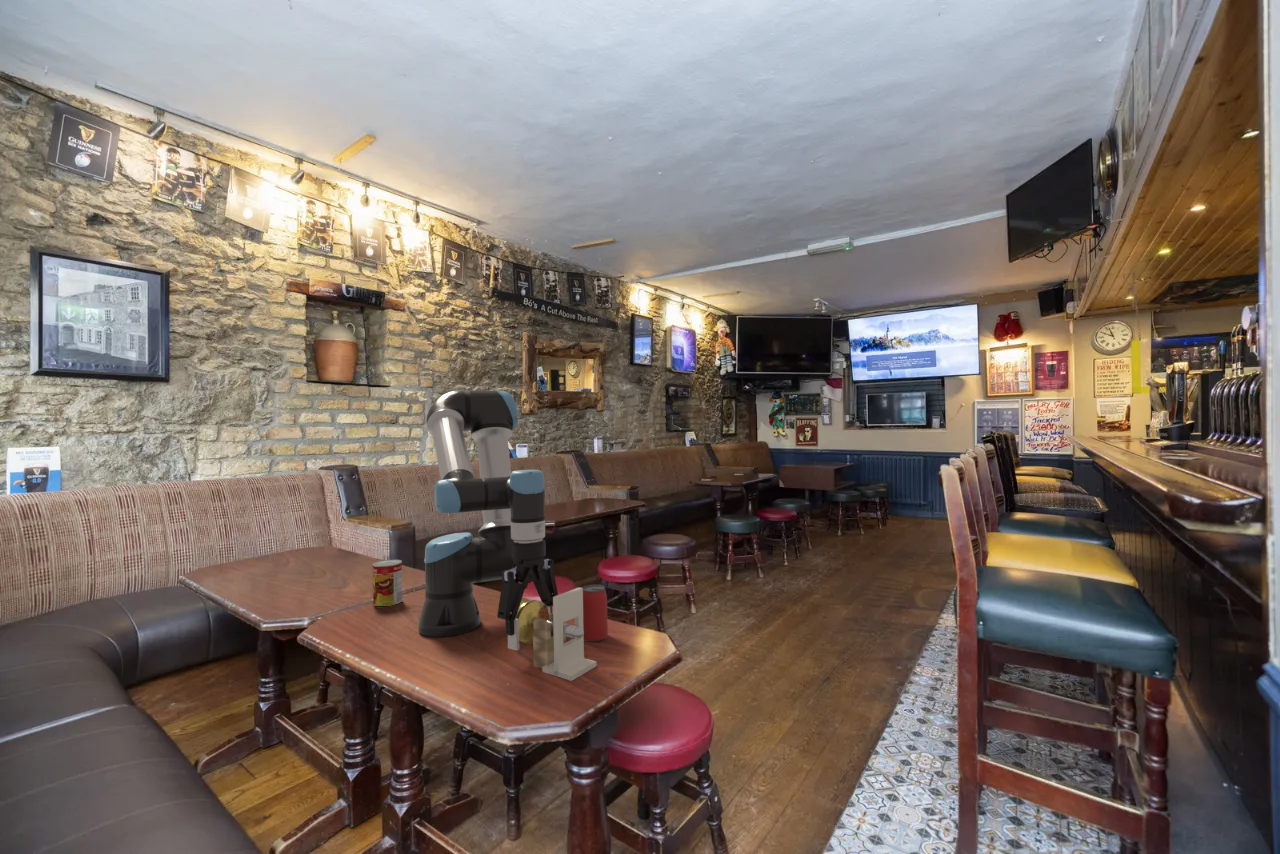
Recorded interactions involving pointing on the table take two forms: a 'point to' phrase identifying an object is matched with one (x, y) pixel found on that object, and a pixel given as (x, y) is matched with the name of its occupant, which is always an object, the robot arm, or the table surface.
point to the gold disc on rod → (538, 610)
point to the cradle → (543, 643)
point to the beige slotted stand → (571, 653)
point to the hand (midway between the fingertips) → (530, 641)
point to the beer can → (595, 613)
